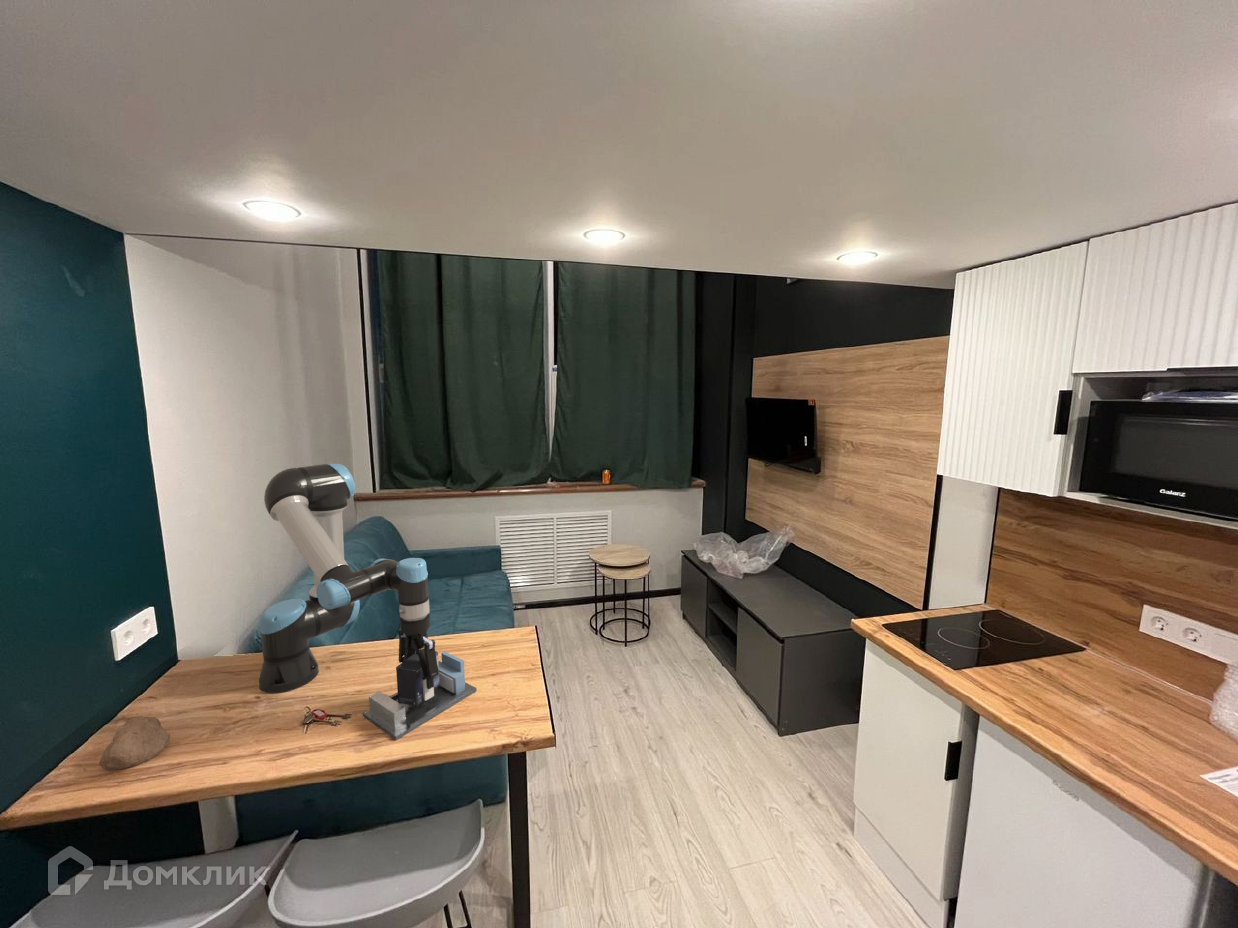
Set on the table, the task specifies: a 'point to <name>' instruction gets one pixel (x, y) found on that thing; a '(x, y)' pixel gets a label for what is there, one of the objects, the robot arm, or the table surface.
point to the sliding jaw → (452, 673)
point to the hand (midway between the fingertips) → (419, 692)
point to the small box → (412, 681)
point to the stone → (135, 743)
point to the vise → (410, 710)
